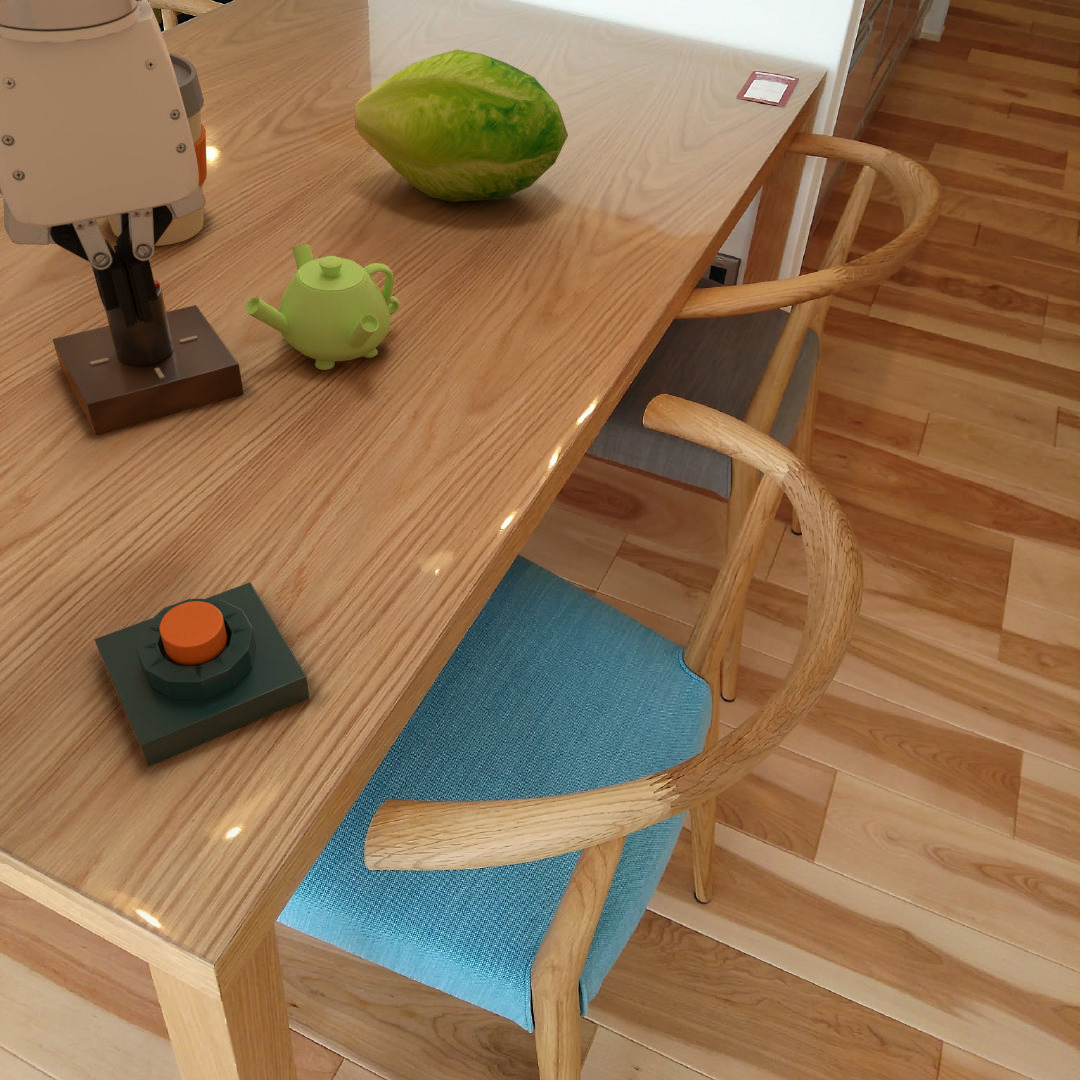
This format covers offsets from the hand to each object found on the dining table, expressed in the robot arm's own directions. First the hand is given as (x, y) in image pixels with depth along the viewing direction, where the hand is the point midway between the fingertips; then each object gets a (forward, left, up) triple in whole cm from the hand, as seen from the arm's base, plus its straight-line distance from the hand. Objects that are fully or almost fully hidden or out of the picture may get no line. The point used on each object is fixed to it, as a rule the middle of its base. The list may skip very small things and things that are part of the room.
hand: (132, 313), depth 62 cm
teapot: (+18, +15, -17) cm, 30 cm away
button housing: (-4, -15, -17) cm, 23 cm away
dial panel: (+3, +17, -17) cm, 24 cm away
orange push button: (-4, -15, -13) cm, 20 cm away
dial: (+3, +17, -14) cm, 22 cm away
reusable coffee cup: (+12, +43, -17) cm, 48 cm away
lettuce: (+44, +37, -17) cm, 60 cm away
